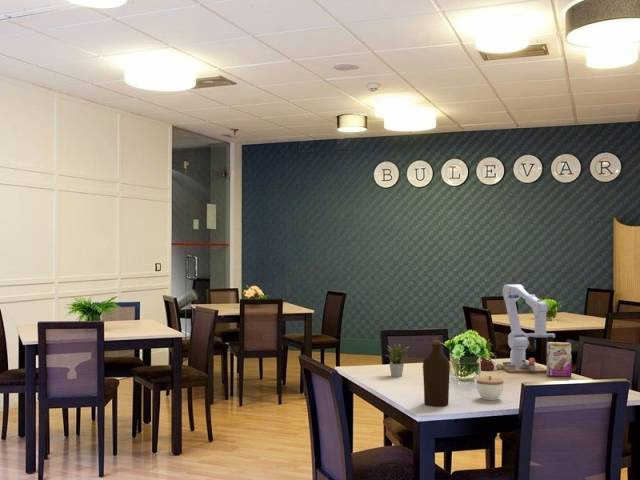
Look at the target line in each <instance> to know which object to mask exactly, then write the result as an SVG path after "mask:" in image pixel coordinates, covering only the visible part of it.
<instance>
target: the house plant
mask: <svg viewBox="0 0 640 480" xmlns="http://www.w3.org/2000/svg"><path fill="white" fill-rule="evenodd" d="M386 346H387V347H388V348H385V349H387V351H388V352H389V354H390V355H388V354H386V355H384V356H385V357H388V358H389V359H390V360H391V361H390V362H389V370H390V376H391V377H395V378H399V377H403V372H404V365H405V363H404V362H402V360H403V359H404V358H407V353H406V354H404V352H408V349H409V348H411V346H406V347H405V348H403V349H402V350H401V348H402V347H401V346H402V345H401V343H399V344H398V347H397V345H396V343H395V342H394V347H390V345H386Z"/></svg>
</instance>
